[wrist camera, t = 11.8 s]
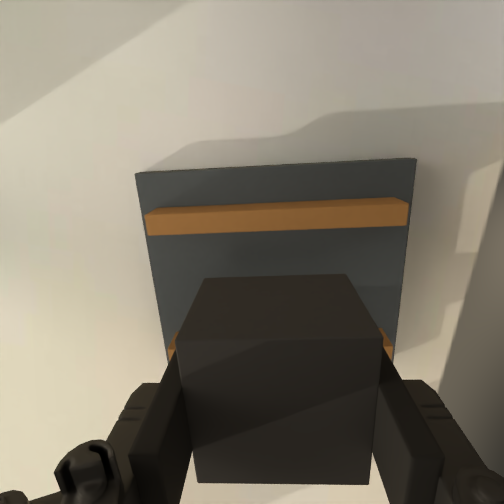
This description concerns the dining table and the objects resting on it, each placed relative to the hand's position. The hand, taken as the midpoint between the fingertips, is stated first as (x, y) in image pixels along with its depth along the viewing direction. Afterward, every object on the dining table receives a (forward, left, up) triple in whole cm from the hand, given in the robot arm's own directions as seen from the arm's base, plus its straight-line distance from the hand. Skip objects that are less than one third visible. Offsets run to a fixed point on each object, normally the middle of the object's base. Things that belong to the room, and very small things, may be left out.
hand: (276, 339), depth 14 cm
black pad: (0, 0, 0) cm, 0 cm away
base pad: (0, 0, -7) cm, 7 cm away
